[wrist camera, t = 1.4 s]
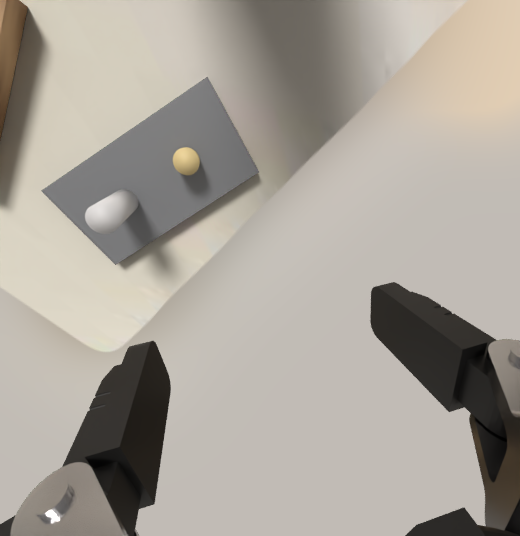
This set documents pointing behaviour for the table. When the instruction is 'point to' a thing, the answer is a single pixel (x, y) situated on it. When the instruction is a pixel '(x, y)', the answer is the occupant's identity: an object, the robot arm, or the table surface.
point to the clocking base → (155, 174)
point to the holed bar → (9, 48)
